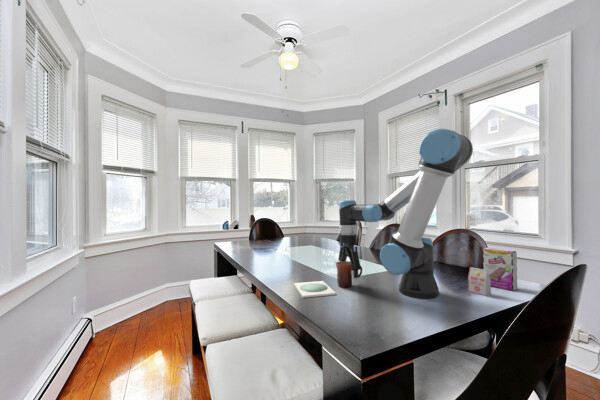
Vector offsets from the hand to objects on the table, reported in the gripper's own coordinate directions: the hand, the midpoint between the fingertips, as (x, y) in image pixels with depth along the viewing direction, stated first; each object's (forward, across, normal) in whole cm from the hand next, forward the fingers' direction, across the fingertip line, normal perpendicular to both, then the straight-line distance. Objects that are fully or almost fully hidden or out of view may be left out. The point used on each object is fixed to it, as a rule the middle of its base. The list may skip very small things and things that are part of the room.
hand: (349, 280), depth 121 cm
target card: (+2, +1, -17) cm, 17 cm away
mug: (+2, 0, 0) cm, 2 cm away
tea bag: (+2, +23, +47) cm, 52 cm away
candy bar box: (+2, +19, +62) cm, 65 cm away
